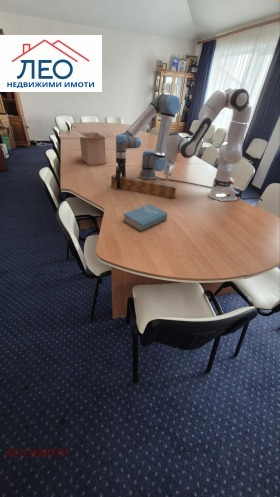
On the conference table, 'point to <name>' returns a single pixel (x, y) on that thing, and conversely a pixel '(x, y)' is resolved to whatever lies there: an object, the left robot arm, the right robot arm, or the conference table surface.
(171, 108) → the left robot arm
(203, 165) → the conference table surface
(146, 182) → the post
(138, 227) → the book
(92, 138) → the box
